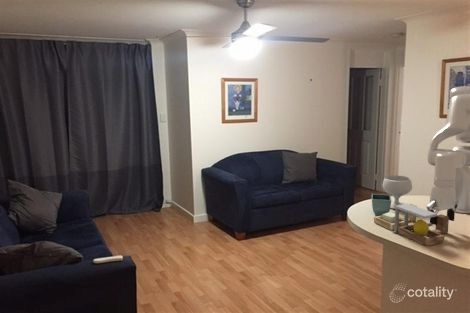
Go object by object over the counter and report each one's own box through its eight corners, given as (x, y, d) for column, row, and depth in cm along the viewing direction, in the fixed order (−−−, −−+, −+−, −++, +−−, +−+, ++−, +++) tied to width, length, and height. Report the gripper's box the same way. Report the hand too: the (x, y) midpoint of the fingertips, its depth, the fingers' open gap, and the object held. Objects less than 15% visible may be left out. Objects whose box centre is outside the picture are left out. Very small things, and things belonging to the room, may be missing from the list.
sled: (403, 215, 182) (404, 201, 181) (422, 223, 172) (423, 208, 171) (374, 222, 176) (374, 207, 174) (391, 230, 166) (392, 215, 164)
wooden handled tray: (429, 225, 169) (430, 210, 168) (460, 237, 155) (461, 221, 154) (398, 233, 162) (398, 217, 161) (427, 246, 149) (428, 229, 147)
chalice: (402, 201, 204) (403, 174, 201) (416, 209, 190) (418, 180, 187) (377, 203, 203) (377, 175, 200) (389, 211, 189) (390, 182, 187)
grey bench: (430, 223, 171) (431, 198, 169) (461, 235, 158) (463, 207, 155) (392, 233, 163) (393, 206, 161) (421, 245, 150) (422, 216, 147)
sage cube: (389, 222, 176) (389, 212, 175) (398, 225, 172) (399, 214, 171) (382, 224, 173) (382, 214, 172) (391, 228, 169) (392, 217, 168)
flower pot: (391, 218, 180) (391, 200, 179) (371, 217, 183) (371, 199, 182) (390, 212, 189) (390, 194, 187) (371, 211, 191) (371, 193, 190)
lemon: (423, 234, 160) (424, 216, 159) (430, 239, 155) (431, 221, 153) (410, 235, 160) (411, 217, 158) (417, 240, 154) (418, 222, 153)
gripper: (451, 178, 164) (448, 216, 167) (421, 183, 158) (419, 222, 161) (467, 181, 157) (464, 221, 160) (436, 187, 151) (434, 228, 154)
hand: (442, 221), depth 160 cm, fingers open, 9 cm apart
